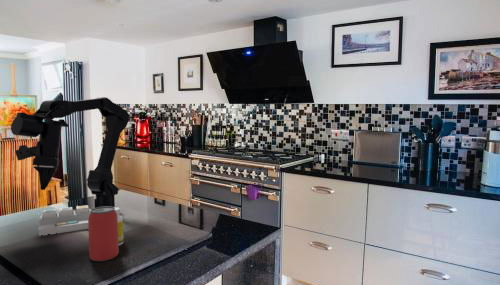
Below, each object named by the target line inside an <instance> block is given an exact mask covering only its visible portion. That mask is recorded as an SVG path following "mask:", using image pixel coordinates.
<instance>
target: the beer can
mask: <svg viewBox="0 0 500 285" xmlns="http://www.w3.org/2000/svg"><path fill="white" fill-rule="evenodd" d="M90 209H91V208H90ZM87 230H88V251H89V259H90V260H91V261H94V262H107V261H109V260H113V259H114V258H116V257H118V256H119V255H118V254H119V253H120V251H119V246H118V217H117V214H116V211H115V208H114V207H110V206H105V207H97V208H94V207H93V208H92V209H91V210H90V215H89V218H88V229H87Z"/></svg>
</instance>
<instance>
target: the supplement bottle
mask: <svg viewBox="0 0 500 285" xmlns="http://www.w3.org/2000/svg"><path fill="white" fill-rule="evenodd" d="M114 208H115V211H116V214H117V217H118V247H119V246H122V244H124V236H125V235H124V218H123V216H122V215H120V214H121V208H120V207H118V206H115V207H114Z"/></svg>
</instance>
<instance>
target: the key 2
mask: <svg viewBox="0 0 500 285" xmlns="http://www.w3.org/2000/svg"><path fill="white" fill-rule="evenodd" d="M75 207H76V210H75V211H76V213H77V214H83V213H89V211H88V209H89V205H88V204H87V205H86V204H85V205H77V206H75Z"/></svg>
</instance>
